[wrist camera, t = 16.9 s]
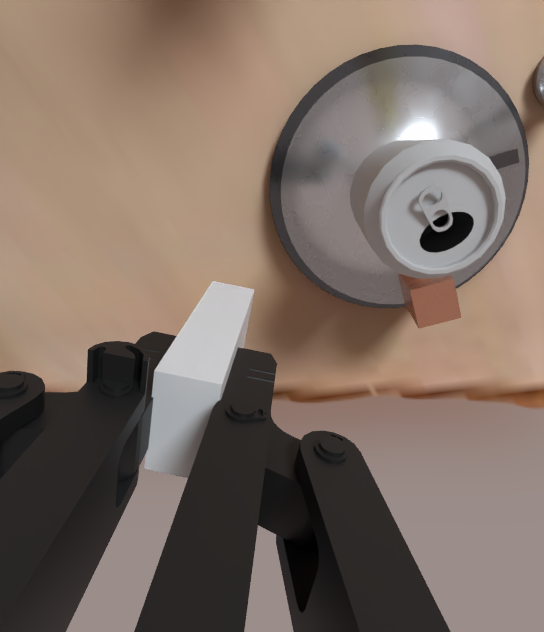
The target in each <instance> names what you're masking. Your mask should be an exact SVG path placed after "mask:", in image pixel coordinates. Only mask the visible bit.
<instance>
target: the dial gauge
mask: <svg viewBox="0 0 544 632" xmlns="http://www.w3.org/2000/svg"><path fill="white" fill-rule="evenodd" d="M533 89H534V93H535V96H536V98H537V99H538V101H539V102H540V103H541V104H542V105H544V57H543V58H542V60H541V61H540V63H539V65H538V66H537V69H536V71H535V74H534V79H533Z"/></svg>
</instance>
